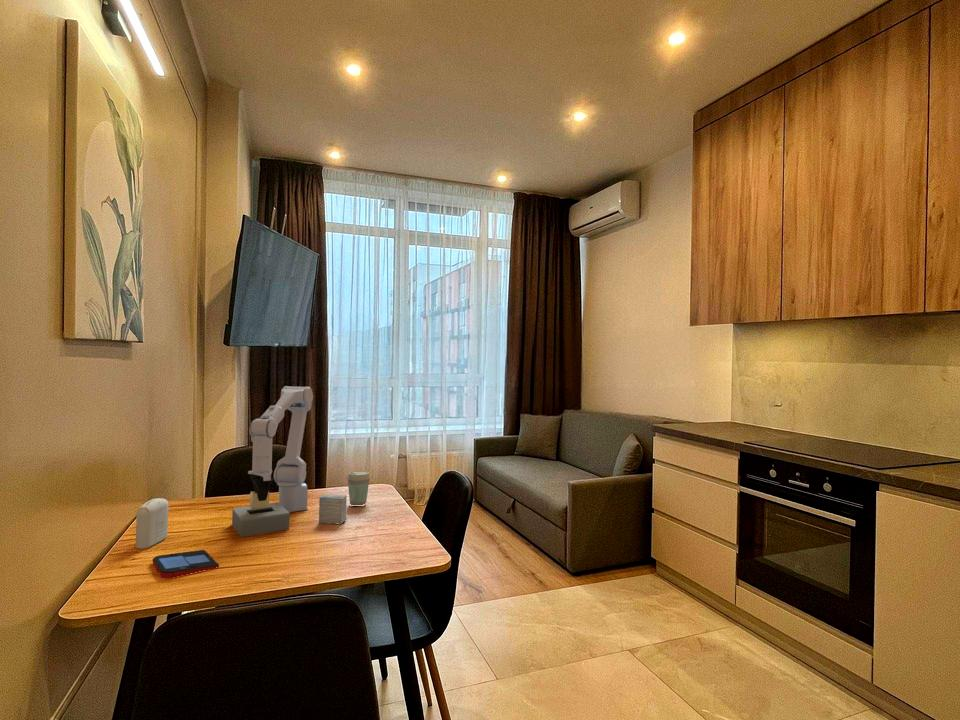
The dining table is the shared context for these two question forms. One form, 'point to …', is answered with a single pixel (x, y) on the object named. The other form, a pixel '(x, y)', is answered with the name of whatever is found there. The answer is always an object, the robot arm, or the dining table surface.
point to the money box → (260, 519)
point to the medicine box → (332, 508)
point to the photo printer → (151, 523)
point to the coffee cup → (358, 487)
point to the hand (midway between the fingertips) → (261, 499)
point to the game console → (183, 563)
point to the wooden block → (256, 503)
